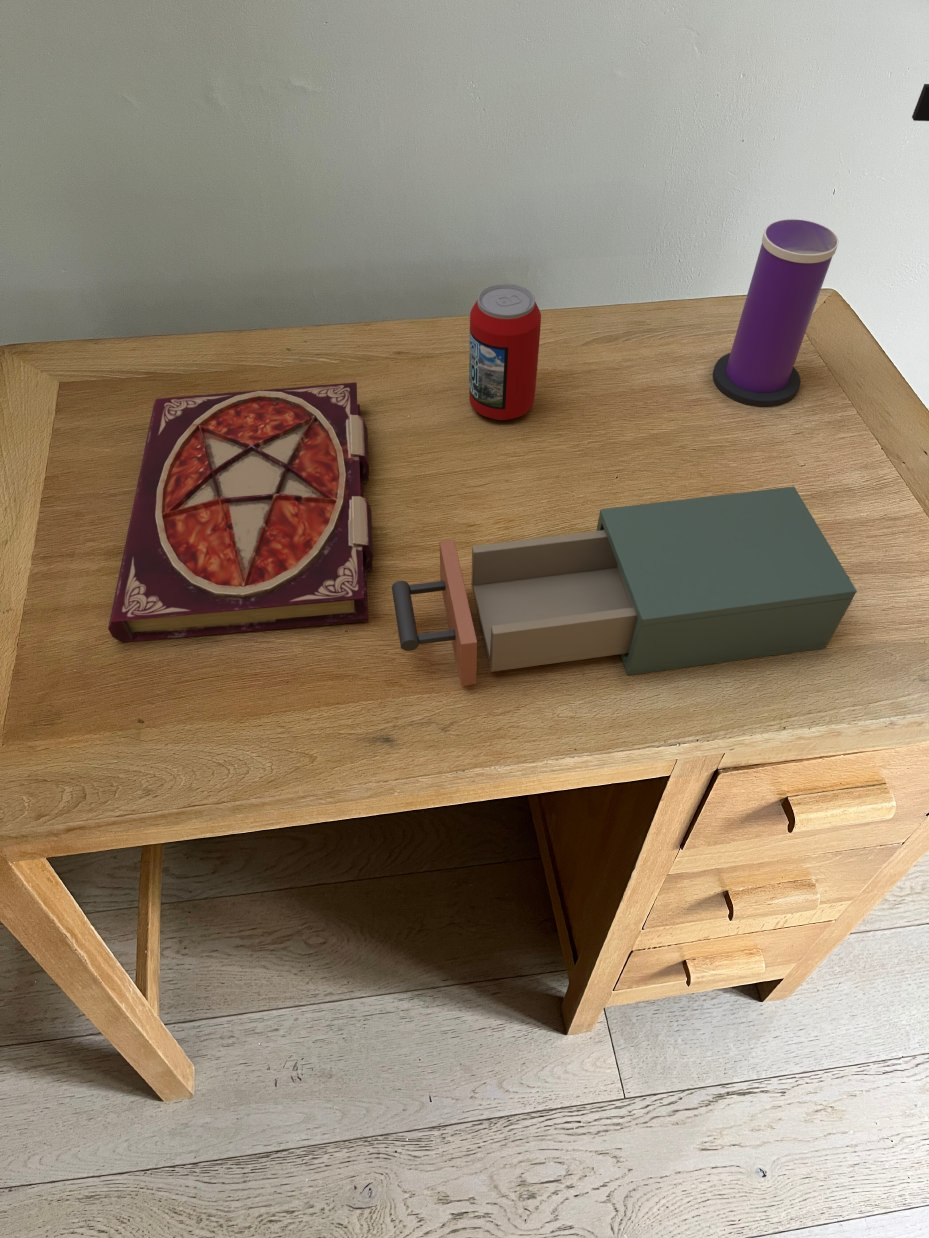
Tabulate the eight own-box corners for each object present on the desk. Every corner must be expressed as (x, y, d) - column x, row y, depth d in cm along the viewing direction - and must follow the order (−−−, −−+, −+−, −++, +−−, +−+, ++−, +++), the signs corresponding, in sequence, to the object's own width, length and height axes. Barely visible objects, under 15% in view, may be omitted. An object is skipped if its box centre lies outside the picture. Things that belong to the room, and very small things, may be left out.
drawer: (406, 693, 65) (402, 652, 61) (390, 591, 72) (386, 547, 67) (655, 659, 67) (668, 616, 63) (618, 562, 74) (627, 518, 70)
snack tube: (801, 387, 90) (852, 249, 78) (743, 398, 88) (786, 259, 77) (770, 351, 94) (814, 215, 82) (714, 361, 92) (751, 224, 81)
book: (160, 425, 87) (145, 383, 83) (367, 408, 88) (362, 367, 84) (118, 647, 70) (96, 608, 66) (377, 623, 71) (371, 583, 67)
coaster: (810, 374, 92) (813, 368, 92) (779, 417, 88) (781, 411, 87) (732, 346, 95) (734, 340, 95) (698, 387, 91) (700, 380, 90)
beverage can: (459, 393, 90) (458, 287, 80) (517, 379, 91) (524, 274, 82) (483, 432, 86) (486, 325, 77) (544, 416, 88) (555, 310, 78)
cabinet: (627, 675, 67) (642, 619, 62) (589, 567, 75) (600, 508, 69) (825, 648, 69) (857, 591, 64) (770, 545, 76) (794, 486, 71)
